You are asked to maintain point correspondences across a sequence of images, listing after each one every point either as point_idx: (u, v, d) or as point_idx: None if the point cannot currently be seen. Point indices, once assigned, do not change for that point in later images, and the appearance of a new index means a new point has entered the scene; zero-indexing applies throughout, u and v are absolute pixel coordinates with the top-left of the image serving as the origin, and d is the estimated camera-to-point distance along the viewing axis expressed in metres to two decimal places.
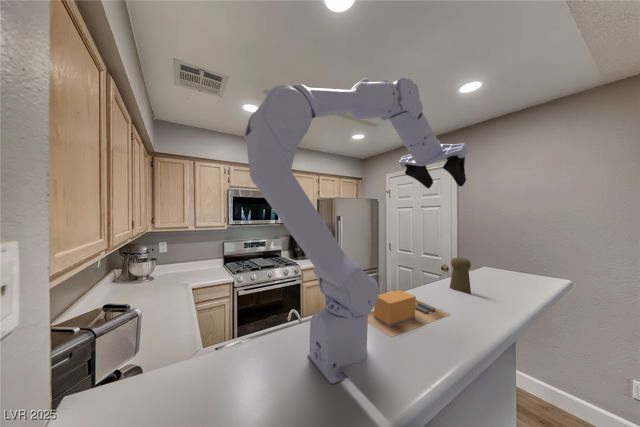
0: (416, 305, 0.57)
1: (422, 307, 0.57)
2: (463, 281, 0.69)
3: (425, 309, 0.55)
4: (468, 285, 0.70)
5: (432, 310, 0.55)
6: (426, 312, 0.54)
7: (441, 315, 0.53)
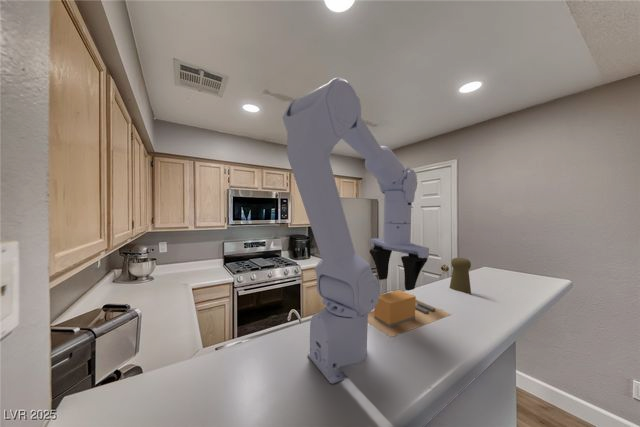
0: (416, 305, 0.57)
1: (422, 307, 0.57)
2: (463, 281, 0.69)
3: (425, 309, 0.55)
4: (468, 285, 0.70)
5: (432, 310, 0.55)
6: (426, 312, 0.54)
7: (441, 315, 0.53)
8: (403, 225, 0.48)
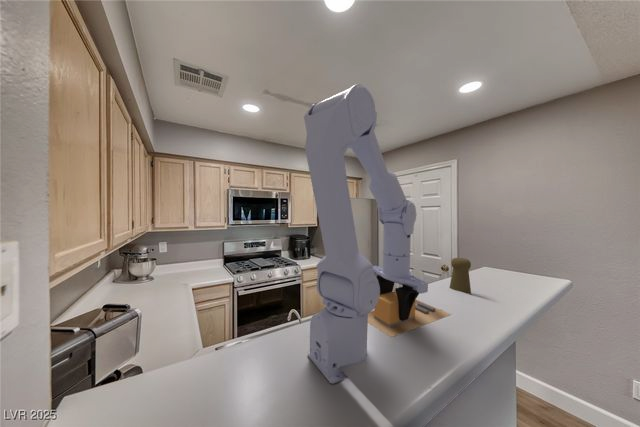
0: (416, 305, 0.57)
1: (422, 307, 0.57)
2: (463, 281, 0.69)
3: (425, 309, 0.55)
4: (468, 285, 0.70)
5: (432, 310, 0.55)
6: (426, 312, 0.54)
7: (441, 315, 0.53)
8: (402, 258, 0.48)
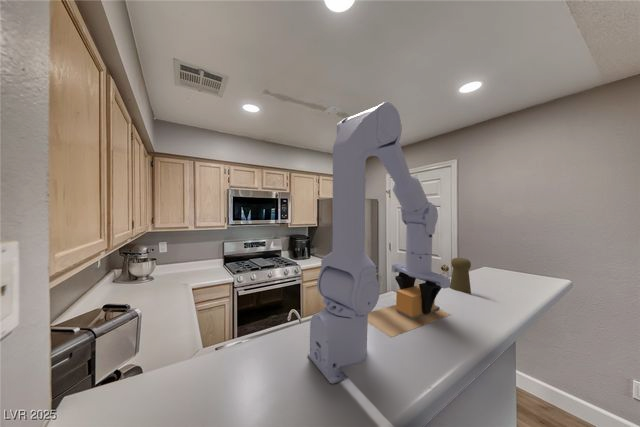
0: None
1: None
2: (463, 281, 0.69)
3: None
4: (468, 285, 0.70)
5: (437, 309, 0.56)
6: (434, 309, 0.56)
7: (441, 315, 0.53)
8: (425, 256, 0.52)
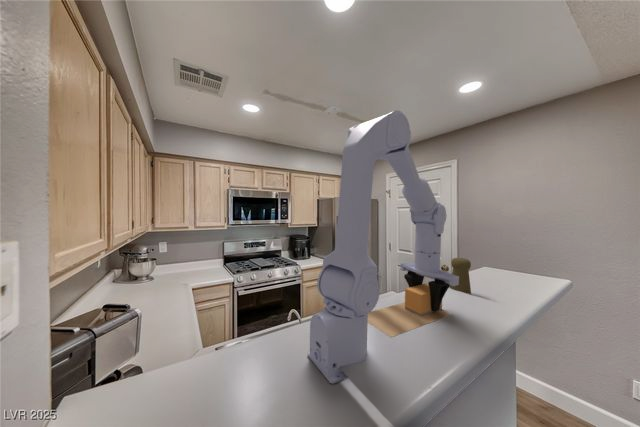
0: None
1: None
2: (463, 281, 0.69)
3: None
4: (468, 285, 0.70)
5: None
6: None
7: (441, 315, 0.53)
8: (434, 255, 0.54)
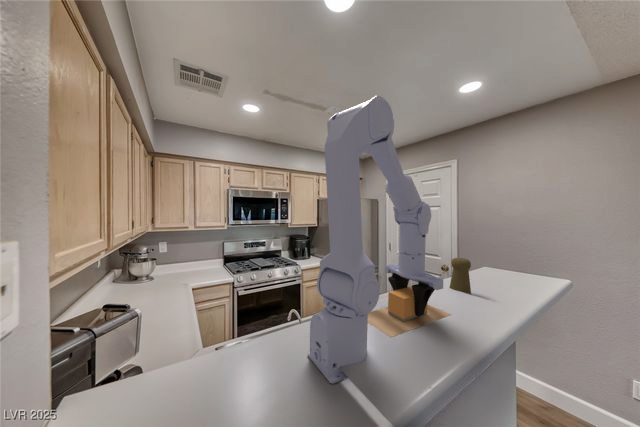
0: None
1: None
2: (463, 281, 0.69)
3: None
4: (468, 285, 0.70)
5: None
6: None
7: (441, 315, 0.53)
8: (418, 256, 0.51)
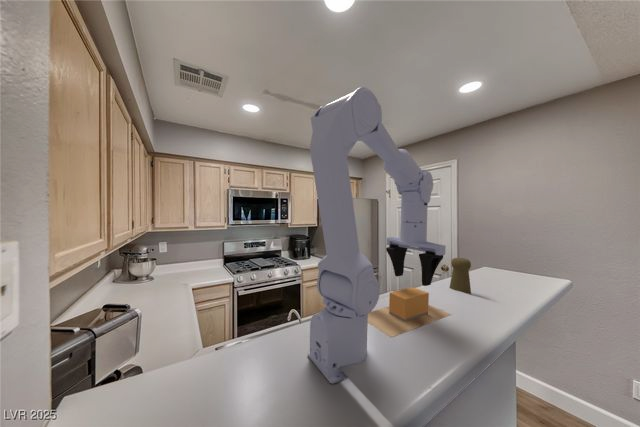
0: None
1: None
2: (463, 281, 0.69)
3: None
4: (468, 285, 0.70)
5: None
6: None
7: (441, 315, 0.53)
8: (420, 224, 0.51)
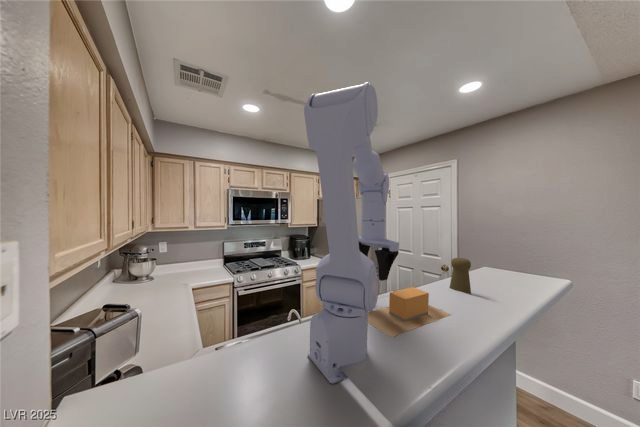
0: None
1: None
2: (463, 281, 0.69)
3: None
4: (468, 285, 0.70)
5: None
6: None
7: (441, 315, 0.53)
8: (377, 222, 0.54)
